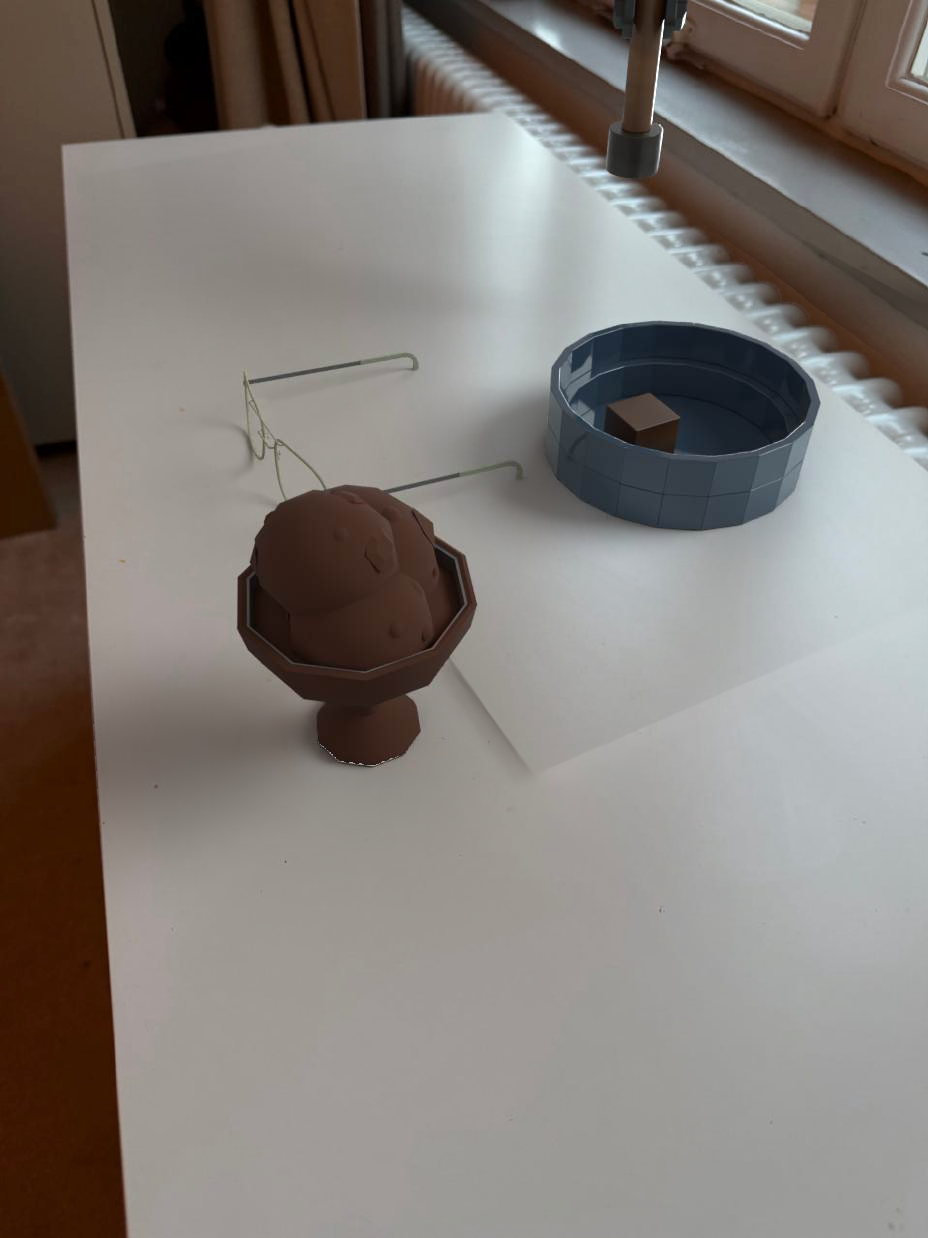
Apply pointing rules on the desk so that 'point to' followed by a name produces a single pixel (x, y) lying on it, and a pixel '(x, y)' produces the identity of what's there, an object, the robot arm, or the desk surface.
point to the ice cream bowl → (354, 612)
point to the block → (643, 423)
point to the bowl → (681, 423)
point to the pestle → (639, 99)
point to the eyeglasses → (391, 490)
